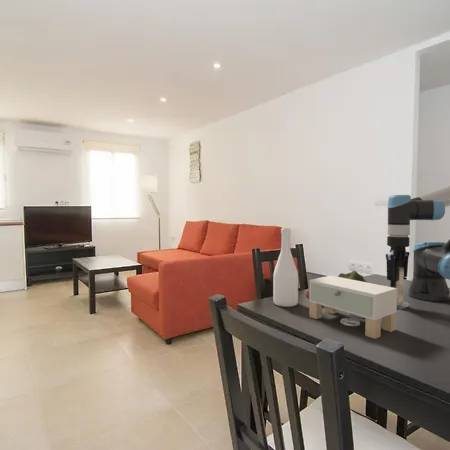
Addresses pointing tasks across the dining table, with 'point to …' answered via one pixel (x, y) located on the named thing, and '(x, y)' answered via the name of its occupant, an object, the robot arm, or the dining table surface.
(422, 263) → the robot arm
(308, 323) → the dining table surface
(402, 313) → the dining table surface
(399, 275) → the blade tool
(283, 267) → the wine bottle
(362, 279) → the decorative rock
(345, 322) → the steel disc
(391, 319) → the cabinet
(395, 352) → the dining table surface
